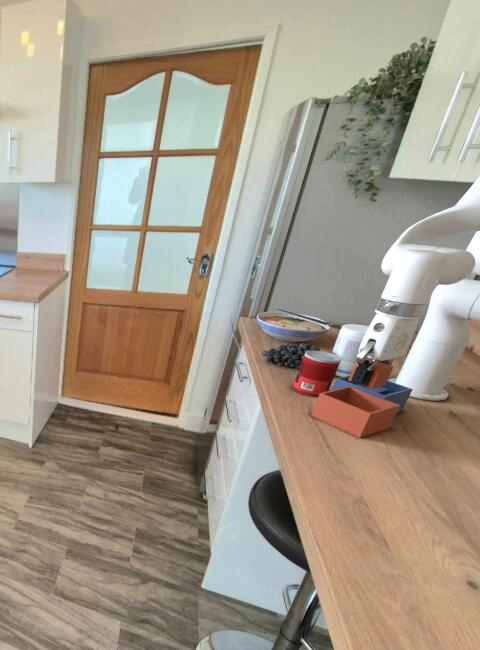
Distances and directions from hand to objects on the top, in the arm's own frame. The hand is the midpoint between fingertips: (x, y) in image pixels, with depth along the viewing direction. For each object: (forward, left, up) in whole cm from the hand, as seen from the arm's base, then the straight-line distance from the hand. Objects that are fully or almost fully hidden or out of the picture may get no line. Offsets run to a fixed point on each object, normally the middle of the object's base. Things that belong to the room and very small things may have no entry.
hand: (366, 381), depth 102 cm
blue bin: (-13, -4, -11) cm, 18 cm away
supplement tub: (-30, -19, -12) cm, 38 cm away
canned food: (-8, -15, -12) cm, 21 cm away
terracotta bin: (0, 0, -11) cm, 11 cm away
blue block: (-13, -4, -11) cm, 18 cm away
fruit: (-20, -30, -12) cm, 38 cm away
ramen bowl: (-43, -47, -12) cm, 65 cm away
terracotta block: (0, 0, 0) cm, 0 cm away
